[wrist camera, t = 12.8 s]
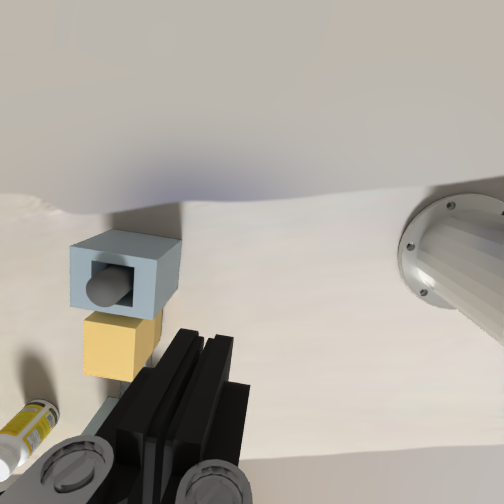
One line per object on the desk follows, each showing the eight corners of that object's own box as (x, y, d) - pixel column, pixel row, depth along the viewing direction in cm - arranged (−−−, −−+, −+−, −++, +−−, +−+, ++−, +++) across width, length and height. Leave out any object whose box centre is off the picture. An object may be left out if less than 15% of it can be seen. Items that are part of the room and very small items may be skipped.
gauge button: (138, 264, 31) (120, 278, 27) (137, 292, 32) (118, 309, 28) (108, 259, 31) (85, 272, 27) (108, 287, 32) (85, 304, 28)
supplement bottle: (20, 412, 44) (-37, 467, 36) (37, 392, 43) (-17, 444, 35) (48, 432, 45) (-1, 491, 37) (66, 413, 44) (20, 469, 36)
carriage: (163, 295, 38) (135, 328, 30) (160, 340, 39) (132, 382, 32) (122, 288, 38) (83, 320, 30) (120, 333, 40) (83, 374, 32)
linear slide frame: (181, 239, 36) (153, 263, 28) (163, 442, 44) (136, 510, 35) (112, 228, 36) (62, 249, 28) (106, 432, 44) (66, 498, 36)
